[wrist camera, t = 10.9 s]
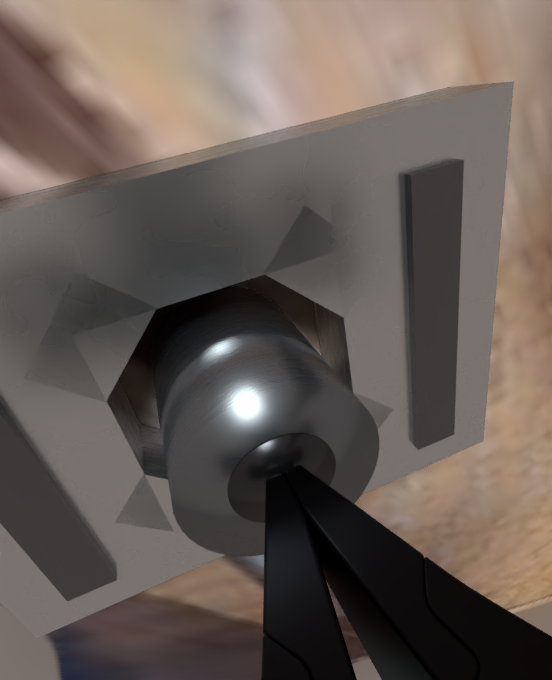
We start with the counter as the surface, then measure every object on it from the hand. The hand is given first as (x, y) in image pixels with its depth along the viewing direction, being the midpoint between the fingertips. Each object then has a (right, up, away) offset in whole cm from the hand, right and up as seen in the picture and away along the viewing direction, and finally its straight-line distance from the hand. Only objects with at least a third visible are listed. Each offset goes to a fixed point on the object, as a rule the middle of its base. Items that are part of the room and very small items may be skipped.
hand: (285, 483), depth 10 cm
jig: (-2, +3, +5) cm, 6 cm away
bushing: (-2, +3, +5) cm, 6 cm away
